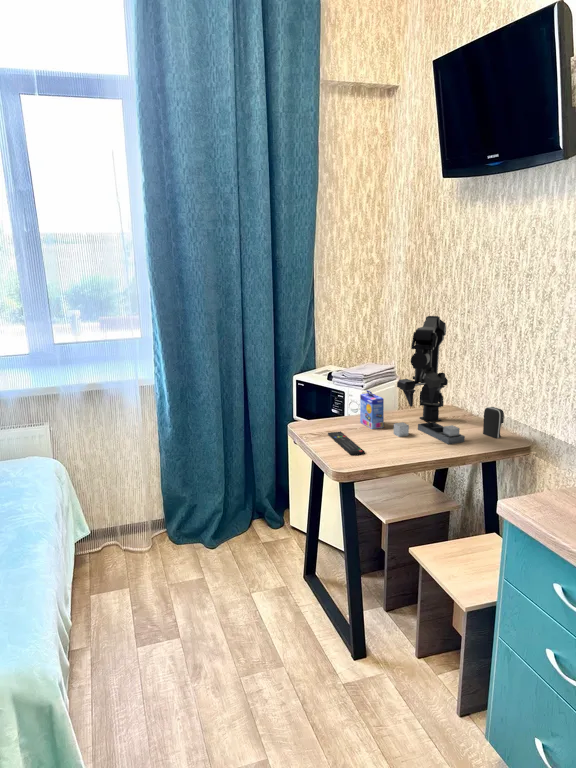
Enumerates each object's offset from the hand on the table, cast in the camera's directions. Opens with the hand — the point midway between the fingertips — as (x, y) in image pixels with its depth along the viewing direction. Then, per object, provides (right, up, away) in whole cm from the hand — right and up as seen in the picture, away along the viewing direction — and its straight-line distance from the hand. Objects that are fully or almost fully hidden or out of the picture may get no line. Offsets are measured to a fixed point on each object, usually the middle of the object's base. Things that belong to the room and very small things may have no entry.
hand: (421, 405), depth 212 cm
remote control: (-28, -15, -3) cm, 32 cm away
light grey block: (+10, -13, -3) cm, 16 cm away
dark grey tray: (+8, -12, +3) cm, 15 cm away
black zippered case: (+27, -12, +3) cm, 30 cm away
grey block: (-7, -12, +4) cm, 15 cm away
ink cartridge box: (-16, -9, +19) cm, 26 cm away
